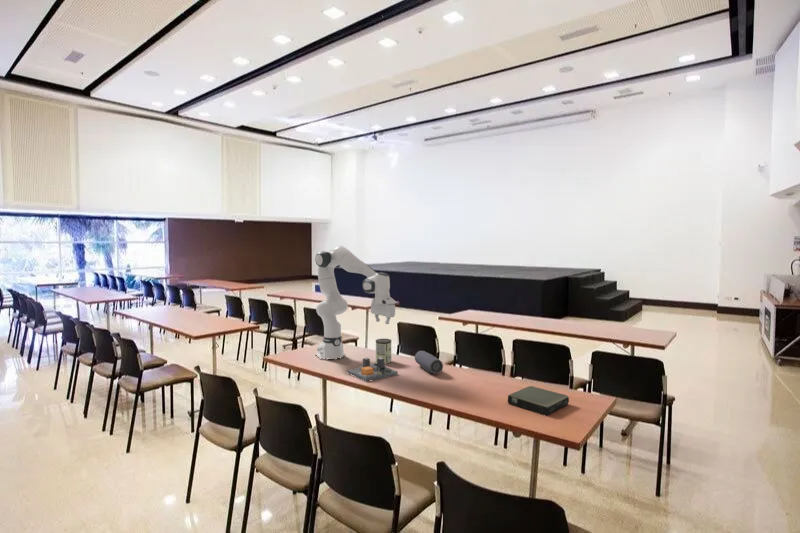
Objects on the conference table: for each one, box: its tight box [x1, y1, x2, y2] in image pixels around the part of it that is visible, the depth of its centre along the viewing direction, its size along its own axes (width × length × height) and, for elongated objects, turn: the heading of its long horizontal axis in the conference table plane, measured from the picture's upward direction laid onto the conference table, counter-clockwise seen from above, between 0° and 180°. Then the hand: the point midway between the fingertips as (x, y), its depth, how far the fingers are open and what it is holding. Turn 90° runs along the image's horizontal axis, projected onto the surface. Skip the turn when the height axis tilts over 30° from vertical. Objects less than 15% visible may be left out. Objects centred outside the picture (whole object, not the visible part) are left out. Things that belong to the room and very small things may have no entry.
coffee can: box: [375, 338, 392, 365], centre depth 290 cm, size 10×10×14 cm
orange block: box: [361, 366, 374, 375], centre depth 256 cm, size 5×5×4 cm
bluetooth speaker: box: [414, 350, 444, 375], centre depth 271 cm, size 23×9×10 cm, turn 22°
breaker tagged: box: [362, 357, 371, 367], centre depth 268 cm, size 3×3×6 cm
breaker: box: [377, 357, 385, 369], centre depth 269 cm, size 3×3×6 cm
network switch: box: [507, 385, 570, 417], centre depth 217 cm, size 23×23×5 cm
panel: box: [346, 362, 398, 382], centre depth 264 cm, size 20×22×3 cm
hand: (382, 322), depth 269 cm, fingers open, 8 cm apart
